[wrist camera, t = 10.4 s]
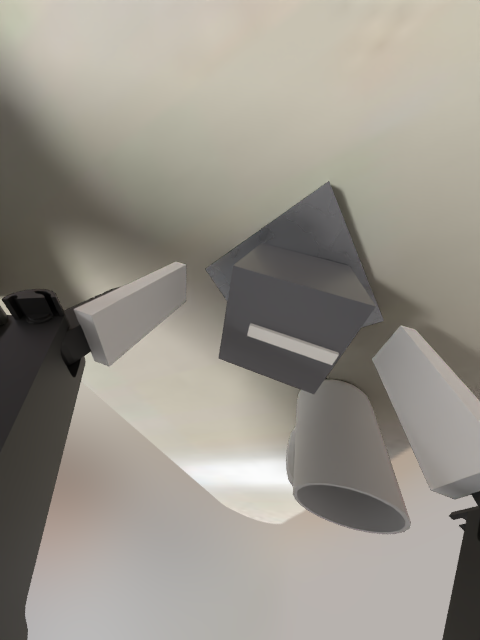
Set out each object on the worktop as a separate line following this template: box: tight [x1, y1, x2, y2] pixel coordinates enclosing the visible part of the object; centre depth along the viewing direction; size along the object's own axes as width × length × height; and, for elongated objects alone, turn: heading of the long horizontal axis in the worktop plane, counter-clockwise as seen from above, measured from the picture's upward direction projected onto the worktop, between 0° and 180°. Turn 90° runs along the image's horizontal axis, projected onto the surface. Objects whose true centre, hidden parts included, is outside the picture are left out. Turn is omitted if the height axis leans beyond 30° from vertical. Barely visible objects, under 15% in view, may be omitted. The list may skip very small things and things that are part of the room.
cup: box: [286, 379, 411, 534], centre depth 17 cm, size 7×10×9 cm
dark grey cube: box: [219, 243, 376, 394], centre depth 12 cm, size 6×6×6 cm
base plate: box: [205, 181, 384, 327], centre depth 13 cm, size 10×10×4 cm
